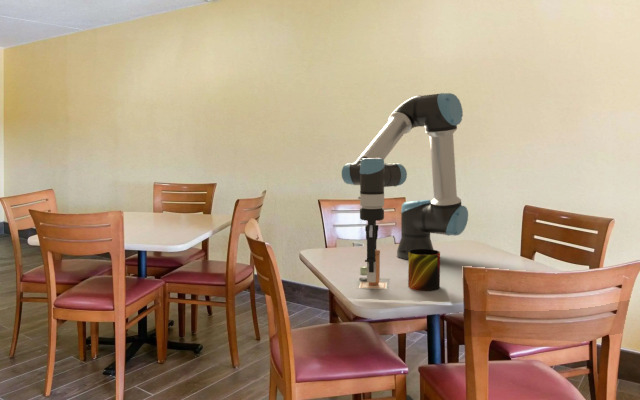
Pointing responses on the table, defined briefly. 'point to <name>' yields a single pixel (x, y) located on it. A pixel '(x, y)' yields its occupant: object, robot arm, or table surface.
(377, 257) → the orange tall block
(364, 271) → the button
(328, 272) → the table surface
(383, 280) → the clipboard
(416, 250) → the mug
